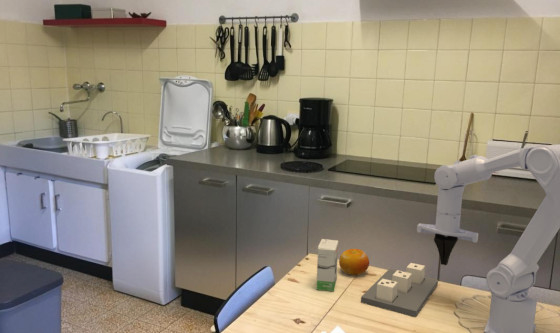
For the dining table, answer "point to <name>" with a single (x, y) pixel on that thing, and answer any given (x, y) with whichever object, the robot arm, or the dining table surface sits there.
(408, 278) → the key two
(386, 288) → the key three
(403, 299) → the keypad board
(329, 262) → the ink box
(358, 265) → the fruit
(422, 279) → the key one
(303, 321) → the dining table surface
